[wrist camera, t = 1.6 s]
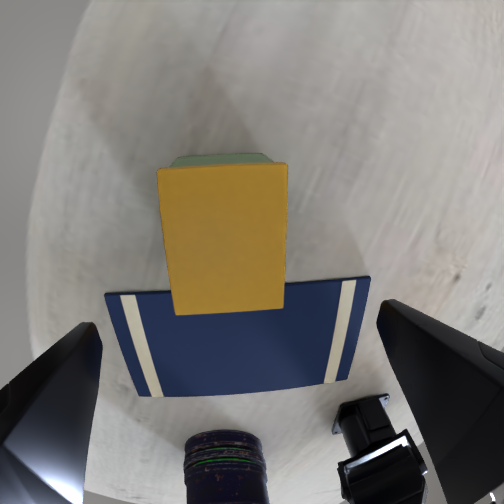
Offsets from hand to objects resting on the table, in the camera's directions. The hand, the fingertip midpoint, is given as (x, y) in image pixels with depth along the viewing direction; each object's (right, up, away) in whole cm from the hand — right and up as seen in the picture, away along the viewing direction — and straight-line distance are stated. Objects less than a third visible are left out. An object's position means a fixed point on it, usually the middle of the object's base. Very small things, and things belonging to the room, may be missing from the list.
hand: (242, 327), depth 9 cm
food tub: (-2, +5, +11) cm, 13 cm away
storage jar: (-3, -22, +24) cm, 33 cm away
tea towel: (-1, -6, +17) cm, 17 cm away
